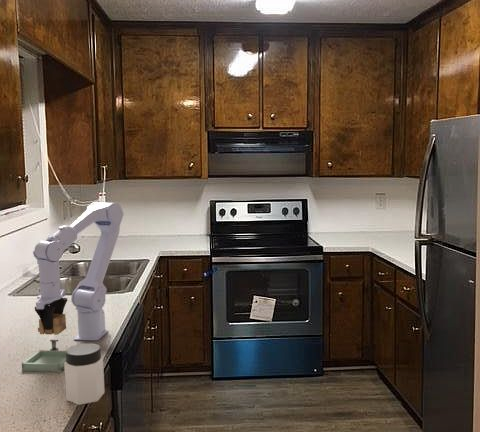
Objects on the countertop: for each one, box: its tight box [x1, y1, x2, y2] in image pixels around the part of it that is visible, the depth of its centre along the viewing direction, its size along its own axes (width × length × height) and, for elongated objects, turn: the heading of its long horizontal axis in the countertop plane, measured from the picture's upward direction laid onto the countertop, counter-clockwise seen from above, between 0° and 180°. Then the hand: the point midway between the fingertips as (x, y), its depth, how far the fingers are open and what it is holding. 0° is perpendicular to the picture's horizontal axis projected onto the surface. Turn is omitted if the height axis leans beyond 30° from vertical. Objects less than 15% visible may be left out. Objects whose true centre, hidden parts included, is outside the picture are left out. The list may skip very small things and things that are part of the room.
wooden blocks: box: [37, 313, 67, 336], centre depth 161 cm, size 6×7×4 cm
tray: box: [21, 349, 66, 373], centre depth 151 cm, size 10×11×2 cm
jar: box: [64, 342, 105, 406], centre depth 130 cm, size 9×8×12 cm
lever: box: [49, 339, 59, 351], centre depth 161 cm, size 2×2×3 cm
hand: (52, 326), depth 161 cm, fingers closed on wooden blocks, 6 cm apart
